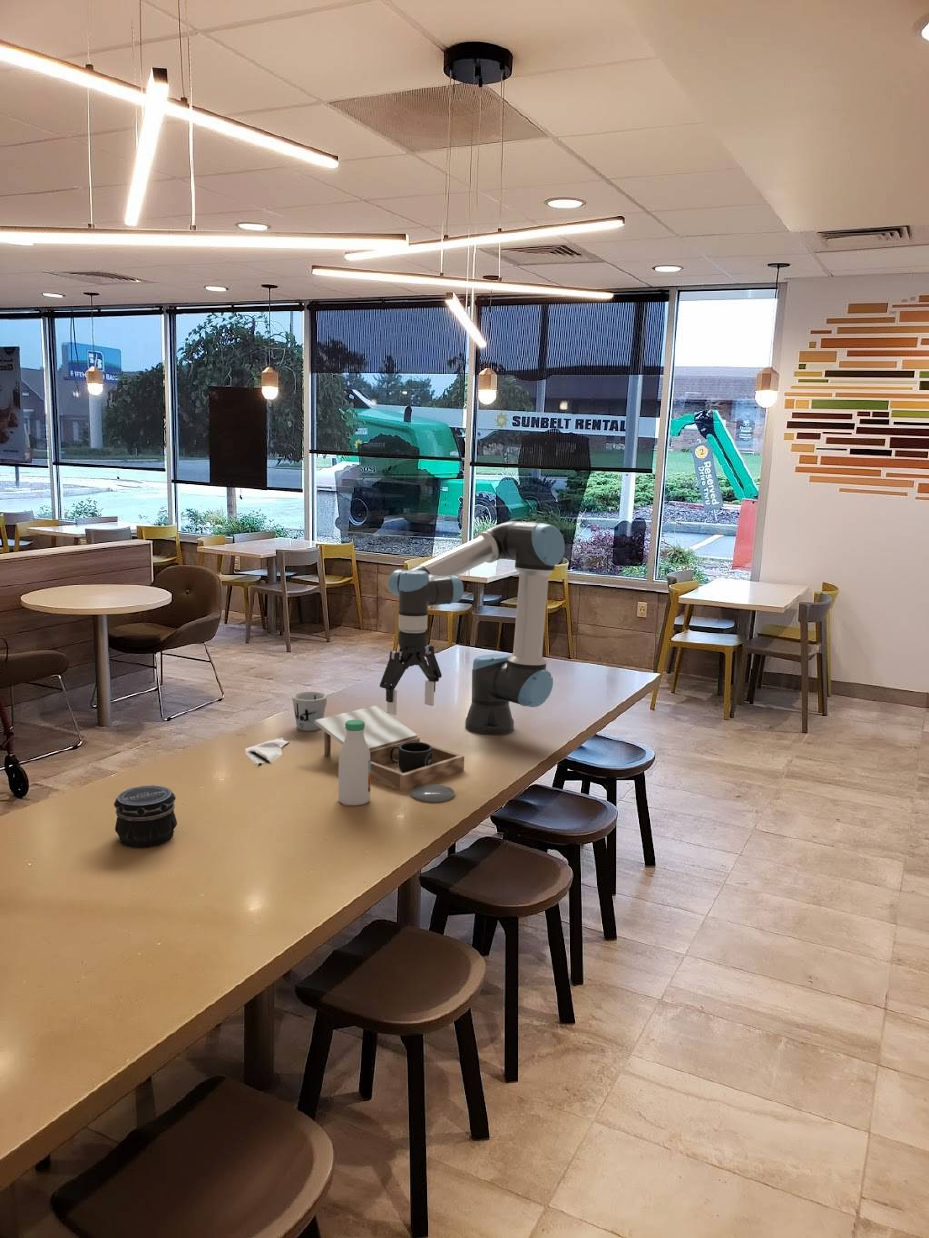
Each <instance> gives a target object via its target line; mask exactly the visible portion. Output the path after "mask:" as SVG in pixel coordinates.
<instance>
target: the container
mask: <svg viewBox="0 0 929 1238" xmlns="http://www.w3.org/2000/svg"><path fill="white" fill-rule="evenodd" d="M175 801H176V795H175V794H174V792H173V791H172V790H171V789H170V788H168V787H165V786H161V785H153V784H151V785H140V786H134V787H131V788H127V789H125V790H123V791H122V792H120V793H118V795H117V797H116V799H115V801H114V803H113V806H114V808H115V814H116V816H117V817H116V823H115V826H114V831H115V833H117V835H118V837H119V838H118V839H119V843H120V844H121V845H123V846H125V847H129V848H132V849H148V848H149V849H150V848H154V847H158V846H161V845H163V844H166V843H167V842H170V840H171V839H172V838H173V837H174V833H175V828H176V827H177V825H178V821H177V817H176V814H175Z"/></svg>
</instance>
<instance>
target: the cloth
mask: <svg viewBox="0 0 929 1238" xmlns="http://www.w3.org/2000/svg"><path fill="white" fill-rule="evenodd" d="M289 743H290V742H289V741H287V740H285V739H284V737H278V738H277V737H276V738H275V739H271V740H267V741H265V742H262V743H258V744H255V745H253V746H249V747H247V748H244V751H245V752H244V753H245V754H246V756H247V757H248V759H249V760H251V762H252V763H253V764H254V765H255V766H256V768H259V765H260V764H262V765H264V764H266V763H267V761H268V762H269V763H270V764H272V763H273V762H274V761H276V760H278V759H279V758H280V756H282V755H283V752H282V748H283V747H284V746H285V745H287V744H289ZM263 758H264V759H265V760H264V759H263Z"/></svg>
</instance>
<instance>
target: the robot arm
mask: <svg viewBox="0 0 929 1238" xmlns="http://www.w3.org/2000/svg"><path fill="white" fill-rule="evenodd" d="M565 544H566V543H565V539H564V536H563V534H562V533H561V532H560V529H558V527H557V526H555V525H553V524H548V523H544V522H532V521H520V520H510V521H506V522H505V521H504V522H502V523H500V524H499V523H498V524H496V525H494V526H491V527H489V528H487V529H484V530H482V531H480V532H477V534H476V535H475V536H474V538H473V539H471V540H470V541H467V542H465V543H463V544H460V545H458V546H456V547H454V548H452V549H450V550H448V551H446V552H444V553H441V554H440V555H438V556H435V557H434V558H432V559H429V560H427V561H425V562H423V563H421V564H419V565H416V566H415V567H412V568H410V569H405V568H403V569H396V570H394V571H393V572H392V573H391V574H390V576H389V579H388V588H389V590H390V593H392V594H393V595H394V596H396V597H397V596H398V629H399V630H398V632H397V633H398V634H397V638H398V639H397V644H398V646H399V650H398V651H395V650H390V651H389V659H388V661H387V665H386V667H385V670H384V673H383V674H382V677H381V681H380V683H379V687H380V688H382V689H385V702H386V703H387V705H386V706H387V708H386V709H387V710H386V711H387V712H386V713H387V714H389V715H393V716H395V715H396V716H397V707H398V706H397V705H398V700H397V699H398V690H397V689H396V687H397V685H398V683H399V682H400V681H401V679H402V677H403V675H404V674H405V671H406V670H408V669H409V667H413V666H418V667H419V669H420V670H421V671H422V673H423V674H424V676H425V677H426V678H427V680H425V681H424V682H425V683H424V705H427V706H430V707H434V705H435V703H434V701H435V692H436V685H437V684H436V683H438V682H439V680H440V678H442V671H441V668H440V666H439V663H438V660H437V658H436V655H435V647H434V646H433V645H430V644H428V632H427V630H428V617H429V616H428V613H429V607H431V606H439V605H440V606H441V605H451V604H455V603H458V602H459V601H461V600H462V598H463V596H464V583H463V581H462V580H461V578H460V577H458V576H460V575H462V574H465V573H466V572H468V571H470V570H472V569H474V568H476V567H478V566H480V565H482V564H484V563H488V564H490V563H494V562H496V561H499V560H512V561H514V569H515V570H516V571H517V572H518V574H519V575H518V576H519V577H518V578H519V579H518V588H517V589H518V590H517V602H516V615H515V627H514V639H513V651H512V654H511V655H510V654H507V653H506V654H505V653H496V654H495V653H493V654H484V655H479V656H476V657H475V658H473V662H472V669H471V703H470V707H469V710H468V713H467V716H466V718H465V722H464V723H465V724H464V727H465V729H466V730H467V731H469V732H471V733H474V734H480V735H491V736H492V735H493V736H495V735H504V734H505V735H506V734H509V733H511V732H512V731H514V727H515V721H514V719H513V716H512V711H511V706H510V703H514V704H517V705H520V706H521V707H529V708H538V707H540V706H541V705H543V704H545V702H546V701H547V699H548V698H549V696H551V693H552V691H553V688H554V687H553V686H554V679H553V676H552V674H551V672H550V671H548V670H547V661H546V659H545V658H544V657H543V648H544V647H543V646H544V634H545V623H546V611H547V600H548V599H547V597H548V588H549V577H550V575H551V574H552V573H554V572H555V567H556V565H558V564H559V563H561V561H562V559H563V557H564V554H565V548H566V547H565Z"/></svg>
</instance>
